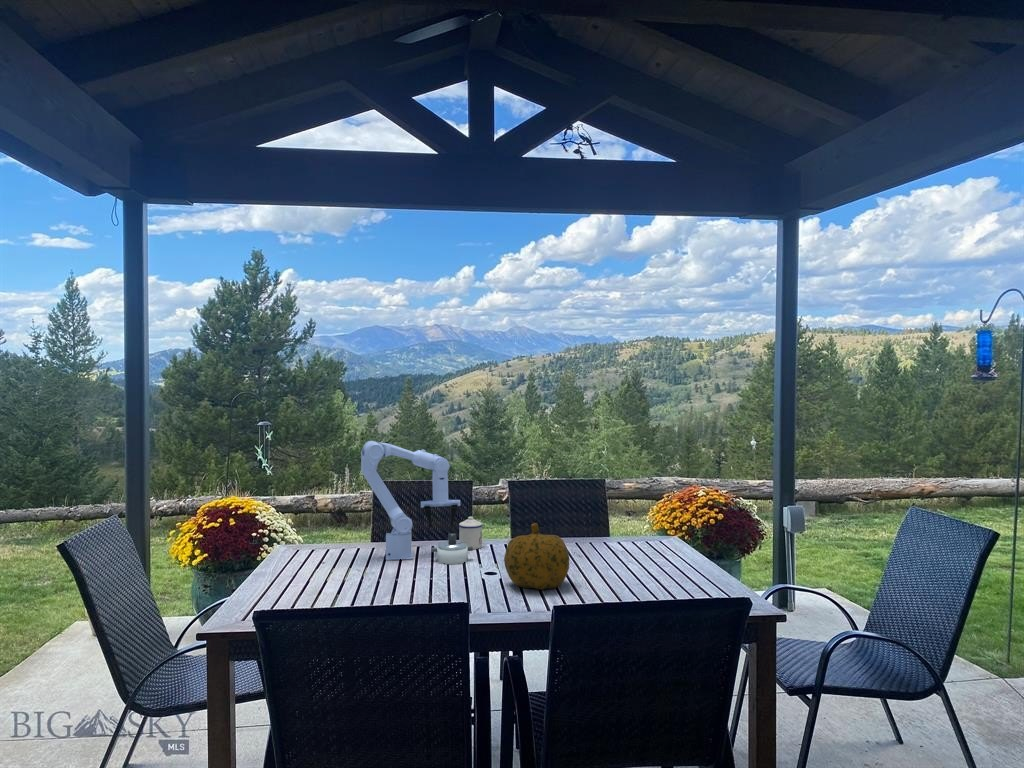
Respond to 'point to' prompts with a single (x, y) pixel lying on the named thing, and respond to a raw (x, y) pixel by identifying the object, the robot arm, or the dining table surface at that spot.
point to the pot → (452, 555)
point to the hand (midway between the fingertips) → (441, 525)
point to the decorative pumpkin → (537, 560)
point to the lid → (452, 543)
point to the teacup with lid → (471, 533)
